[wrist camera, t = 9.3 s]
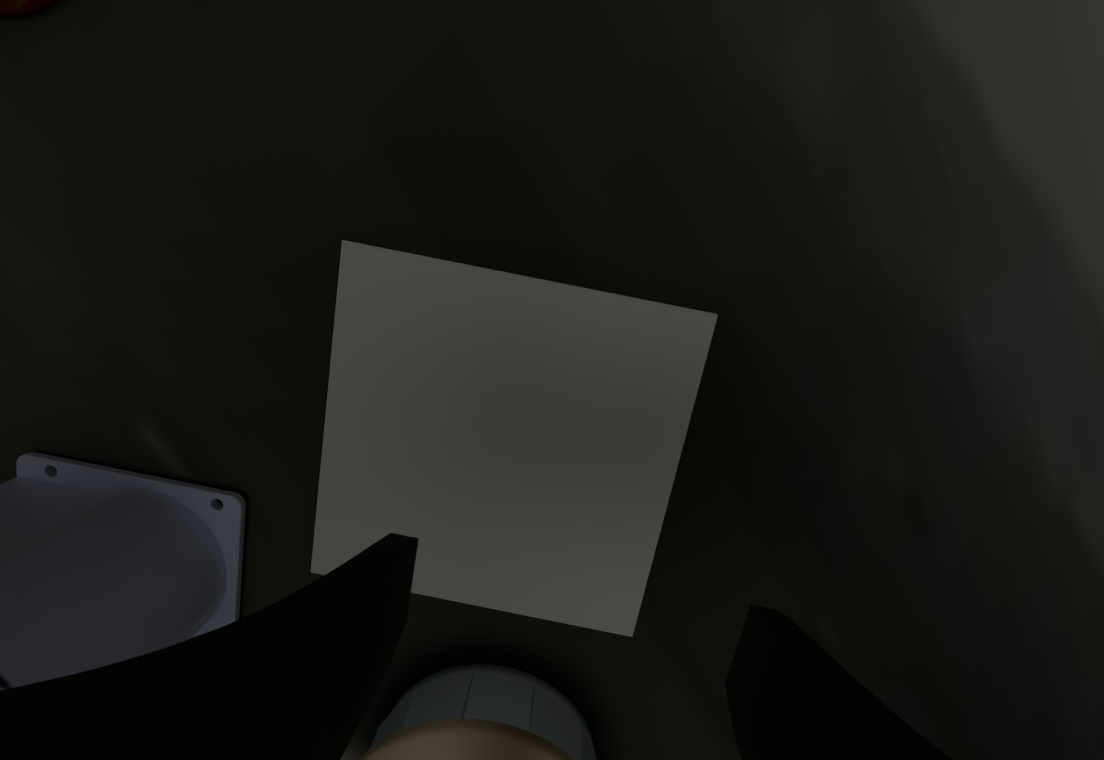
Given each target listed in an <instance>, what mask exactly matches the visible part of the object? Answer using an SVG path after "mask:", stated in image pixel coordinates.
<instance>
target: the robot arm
mask: <svg viewBox="0 0 1104 760" xmlns="http://www.w3.org/2000/svg"><path fill="white" fill-rule="evenodd" d="M16 467H17V477H16V478H14V479H11V480H9V481H7V482H4V483H2V484H0V760H340V758H341V756H342V755H343V753H344V751H345V749H346V747H347V745H348V743H349V741H350V739H351V738H352V736H353V734H354V732H355V730H356V728H357V726H358V724H359V722H360V720H361V719H362V717H363V715H364V713H365V711H366V709H367V707H368V705H369V703H370V701H371V700H372V698H373V696H374V694H375V692H376V690H377V688H378V686H379V684H380V682H381V680H382V678H383V677H384V675H385V673H386V671H387V669H388V667H389V665H390V662H391V660H392V657H393V655H394V652H395V650H396V647H397V644H398V642H399V639H400V637H401V634H402V631H403V629H404V626H405V623H406V621H407V615H408V608H409V601H410V594H411V588H412V581H413V574H414V567H415V560H416V554H417V547H418V540H419V538H415V537H410V536H405V535H400V534H395V533H390V534H388V535H387V536H385V537H383V538H382V539H380V540H379V541H377V542H375V543H374V544H372V545H371V546H369V547H368V548H366V549H365V550H363V551H362V552H360V553H359V554H357V555H356V556H354V557H353V558H351V559H350V560H348V561H347V562H345V563H343V564H342V565H340V566H339V567H337V568H335V569H334V570H332V571H331V572H329V573H327V574H326V575H324V576H323V577H321V578H319V579H318V580H316V581H314V582H312V583H311V584H309V585H307V586H305V587H303V588H302V589H300V590H298V591H296V592H294V593H293V594H291V595H289V596H287V597H286V598H284V599H282V600H280V601H278V602H276V603H274V604H272V605H270V606H268V607H266V608H264V609H261V610H259V611H257V612H255V613H253V614H250V615H248V616H246V617H244V618H242V619H239V610H240V594H241V577H242V560H243V544H244V527H245V510H246V504H245V500H244V498H243V497H242V496H241V495H240V494H238V493H235V492H231V491H226V490H221V489H216V488H211V487H206V486H201V485H196V484H191V483H186V482H181V481H176V480H171V479H166V478H161V477H156V476H151V475H146V474H141V473H136V472H131V471H126V470H121V469H116V468H111V467H106V466H101V465H96V464H91V463H86V462H81V461H76V460H71V459H66V458H61V457H56V456H51V455H46V454H41V453H36V452H30V453H27V454H24V455H22V456H20V457H19V458H18V459H17V463H16ZM54 468H55V469H56V470H57V472H56V471H55V469H54ZM217 499H219V500H221V501H222V503H223V506H222V505H220V504H219V503H218V502H217ZM725 686H726V692H727V698H728V704H729V710H730V715H731V720H732V725H733V730H734V735H735V738H736V741H737V745H738V748H739V751H740V754H741V757H742V760H953V759H951V758H950V757H949V756H947V755H946V754H945V753H943V752H942V751H941V750H939V749H938V748H937V747H935V746H934V745H933V744H931V743H930V742H929V741H928V740H926V739H925V738H924V737H923V736H921V735H920V734H919V733H918V732H916V731H915V730H914V729H913V728H912V727H910V726H909V725H908V724H907V723H906V722H904V721H903V720H902V719H901V718H900V717H898V716H897V715H896V714H895V713H894V712H893V711H891V710H890V709H889V708H888V707H887V706H885V705H884V704H883V703H882V702H881V701H880V700H879V699H877V698H876V697H875V696H874V695H873V694H872V693H871V692H869V691H868V690H867V689H866V688H865V687H864V686H863V685H862V684H860V683H859V682H858V681H857V680H856V679H855V678H854V677H853V676H852V675H851V674H849V673H848V672H847V671H846V670H845V669H844V668H843V667H842V666H841V665H840V664H839V663H837V662H836V661H835V660H834V659H833V658H832V657H831V656H830V655H829V654H828V653H827V652H826V651H824V650H823V649H822V648H821V647H820V646H819V645H818V644H817V643H816V642H815V641H814V640H813V639H812V638H810V637H809V636H808V635H807V634H806V633H805V632H804V631H803V630H802V629H801V628H799V627H798V626H797V625H796V624H795V623H794V622H793V621H791V620H790V619H789V618H788V617H787V616H785V615H784V614H783V613H782V612H780V611H779V610H774V609H769V608H764V607H759V606H754V605H750V608H749V611H748V615H747V618H746V621H745V624H744V627H743V630H742V633H741V636H740V639H739V642H738V646H737V649H736V652H735V655H734V658H733V661H732V664H731V667H730V670H729V673H728V677H727V680H726V683H725Z"/></svg>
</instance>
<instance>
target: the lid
mask: <svg viewBox="0 0 1104 760" xmlns="http://www.w3.org/2000/svg"><path fill="white" fill-rule="evenodd" d="M359 760H575V759H573V758H572V757H571V756H570V755H569V754H567V753H566V752H565V751H563V750H562V749H560V748H559V747H557V746H556V745H554V744H553V743H551V742H550V741H548V740H546V739H544V738H542V737H540V736H538V735H536V734H534V733H531V732H529V731H526V730H523V729H520V728H518V727H515V726H511V725H507V724H503V723H499V722H495V721H488V720H481V719H462V718H455V719H443V720H435V721H430V722H425V723H420V724H417V725H414V726H411V727H408V728H405V729H402V730H400V731H398V732H396V733H394V734H392V735H389V736H387V737H386V738H384V739H383V740H381V741H380V742H378V743H377V744H375V745H374V746H373V747H371V748H370V749H369V750H368V751H367V752H366V753H365V754H363V755H362V756H361V758H360V759H359Z"/></svg>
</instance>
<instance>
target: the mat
mask: <svg viewBox="0 0 1104 760" xmlns="http://www.w3.org/2000/svg"><path fill="white" fill-rule="evenodd" d="M717 316H718V314H716V313H711V312H706V311H700V310H695V309H690V308H685V307H680V306H675V305H670V304H665V303H660V302H655V301H650V300H645V299H640V298H635V297H630V296H625V295H620V294H615V293H610V292H605V291H599V290H594V289H589V288H584V287H579V286H574V285H569V284H564V283H559V282H554V281H549V280H544V279H539V278H534V277H529V276H524V275H519V274H514V273H509V272H503V271H498V270H493V269H488V268H483V267H478V266H473V265H468V264H463V263H458V262H453V261H448V260H443V259H438V258H433V257H428V256H423V255H418V254H413V253H408V252H402V251H397V250H392V249H387V248H382V247H377V246H372V245H367V244H362V243H357V242H352V241H347V240H342V247H341V257H340V268H339V278H338V289H337V300H336V310H335V321H334V331H333V342H332V352H331V363H330V373H329V384H328V394H327V405H326V415H325V426H324V437H323V447H322V458H321V468H320V479H319V489H318V500H317V510H316V521H315V531H314V542H313V552H312V563H311V572H312V573H317V574H322V575H326V574H327V573H329V572H331V571H332V570H334V569H335V568H337V567H339V566H340V565H342V564H343V563H345V562H347V561H348V560H350V559H351V558H353V557H354V556H356V555H357V554H359V553H360V552H362V551H363V550H365V549H366V548H368V547H369V546H371V545H372V544H374V543H375V542H377V541H379V540H380V539H382V538H383V537H385V536H387V535H388V534H390V533H395V534H400V535H405V536H410V537H415V538H419V540H418V547H417V554H416V560H415V567H414V574H413V581H412V588H411V593H416V594H421V595H426V596H431V597H436V598H441V599H446V600H451V601H456V602H461V603H466V604H471V605H476V606H481V607H486V608H491V609H496V610H501V611H506V612H511V613H516V614H521V615H526V616H531V617H536V618H541V619H546V620H551V621H556V622H561V623H566V624H571V625H575V626H580V627H585V628H590V629H595V630H600V631H605V632H610V633H615V634H620V635H625V636H630V637H632V636H633V632H634V628H635V624H636V621H637V617H638V613H639V609H640V606H641V602H642V598H643V594H644V591H645V587H646V583H647V579H648V576H649V572H650V568H651V564H652V561H653V557H654V553H655V549H656V546H657V542H658V538H659V534H660V530H661V527H662V523H663V519H664V515H665V512H666V508H667V504H668V500H669V497H670V493H671V489H672V485H673V482H674V478H675V474H676V470H677V467H678V463H679V459H680V455H681V452H682V448H683V444H684V440H685V437H686V433H687V429H688V425H689V421H690V418H691V414H692V410H693V406H694V403H695V399H696V395H697V391H698V388H699V384H700V380H701V376H702V373H703V369H704V365H705V361H706V358H707V354H708V350H709V346H710V343H711V339H712V335H713V331H714V328H715V324H716V320H717Z"/></svg>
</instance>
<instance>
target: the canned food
mask: <svg viewBox="0 0 1104 760" xmlns="http://www.w3.org/2000/svg"><path fill="white" fill-rule="evenodd" d="M53 1H54V0H0V15H4V16H15V15H22V14H29V13H32V12H34V11H36V10H39V9H41V8H44V7H46V6H48V5H49V4H50V3H52V2H53Z"/></svg>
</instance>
